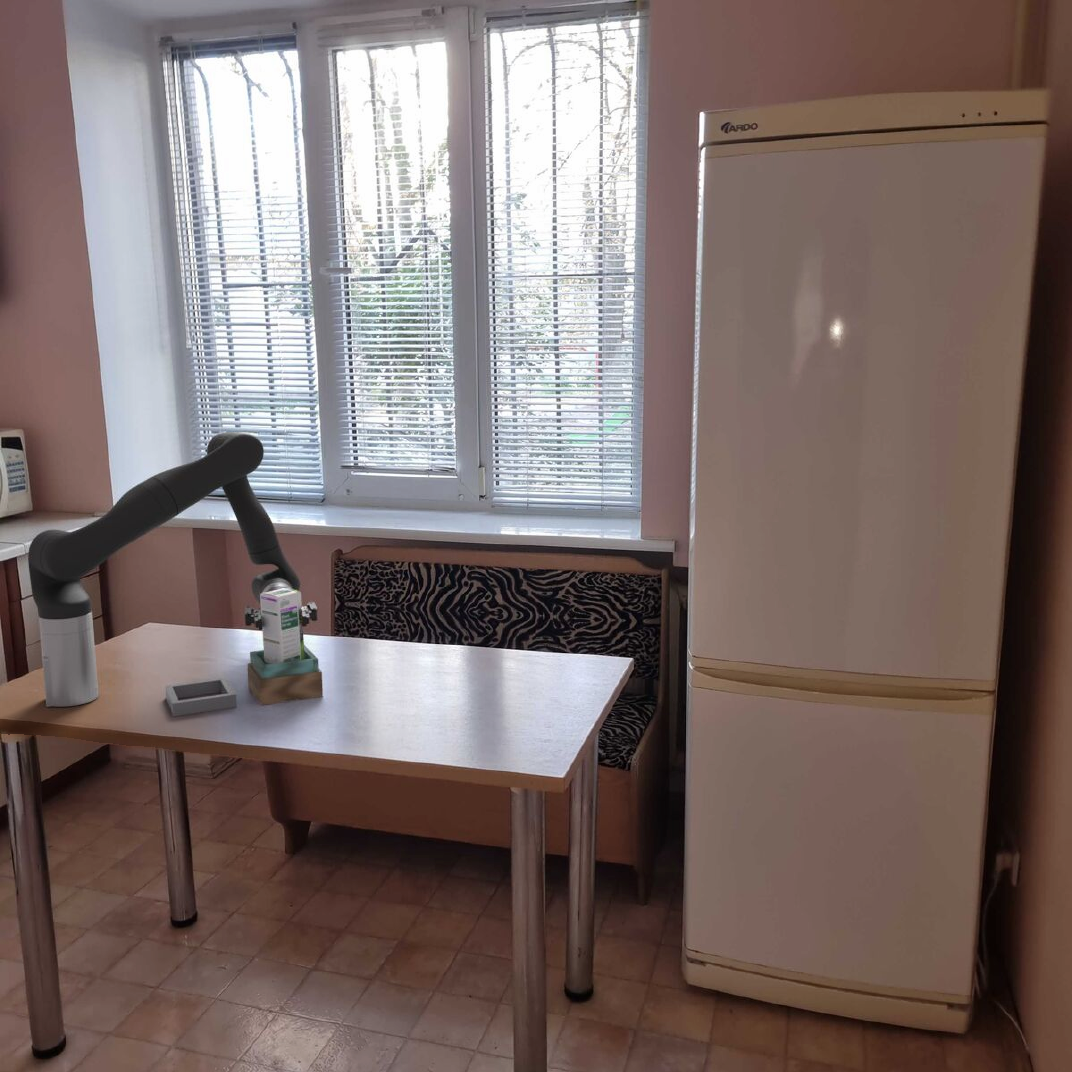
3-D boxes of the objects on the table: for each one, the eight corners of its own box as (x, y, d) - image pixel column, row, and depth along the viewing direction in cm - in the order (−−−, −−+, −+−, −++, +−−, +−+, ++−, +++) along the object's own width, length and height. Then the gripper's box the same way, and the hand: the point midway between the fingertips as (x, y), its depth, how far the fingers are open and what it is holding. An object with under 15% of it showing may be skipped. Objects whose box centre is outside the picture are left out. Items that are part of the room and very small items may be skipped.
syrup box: (282, 668, 188) (278, 596, 185) (263, 662, 191) (259, 591, 189) (305, 661, 192) (302, 590, 190) (286, 655, 196) (283, 586, 193)
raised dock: (260, 705, 185) (259, 667, 183) (248, 687, 195) (246, 651, 194) (322, 696, 190) (321, 659, 189) (307, 678, 201) (306, 643, 199)
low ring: (173, 716, 179) (172, 703, 178) (165, 697, 189) (165, 685, 188) (236, 706, 184) (235, 694, 183) (226, 689, 194) (225, 677, 193)
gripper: (242, 588, 201) (243, 607, 186) (312, 583, 205) (319, 602, 190) (244, 622, 202) (245, 644, 187) (314, 617, 206) (320, 638, 191)
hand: (282, 623), depth 188 cm, fingers closed on syrup box, 8 cm apart
